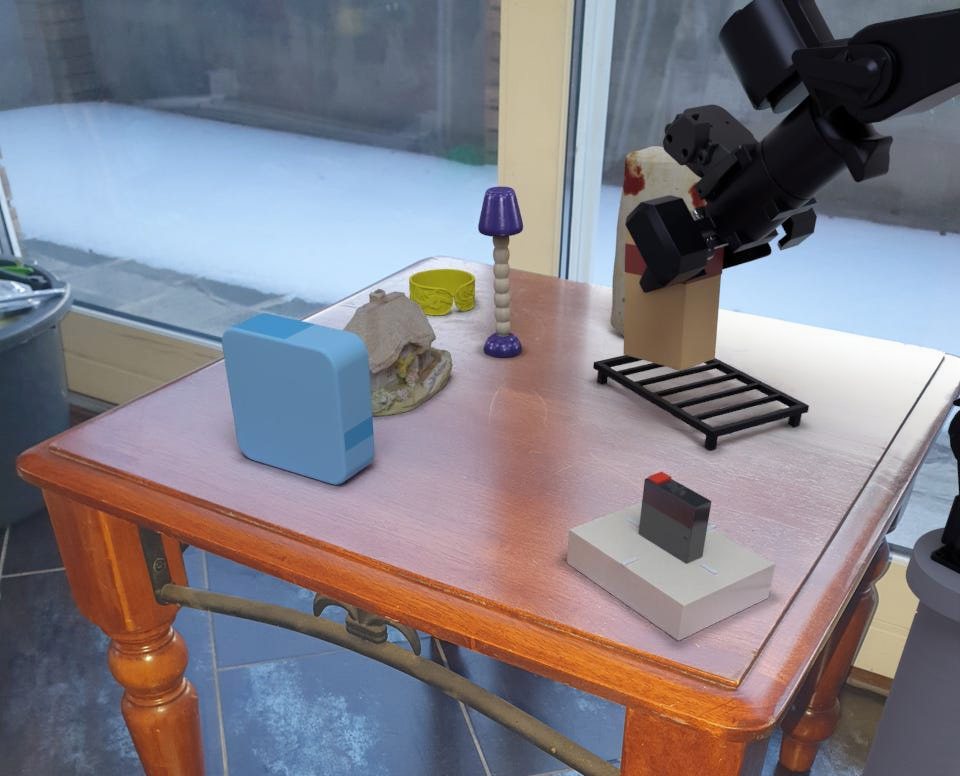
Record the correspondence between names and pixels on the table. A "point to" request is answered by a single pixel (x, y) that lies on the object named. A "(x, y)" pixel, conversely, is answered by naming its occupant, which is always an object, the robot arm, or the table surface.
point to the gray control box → (674, 517)
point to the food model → (644, 181)
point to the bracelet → (442, 290)
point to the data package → (300, 396)
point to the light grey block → (669, 573)
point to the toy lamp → (501, 263)
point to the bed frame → (694, 421)
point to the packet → (671, 314)
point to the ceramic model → (399, 352)
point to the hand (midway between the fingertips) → (661, 281)
